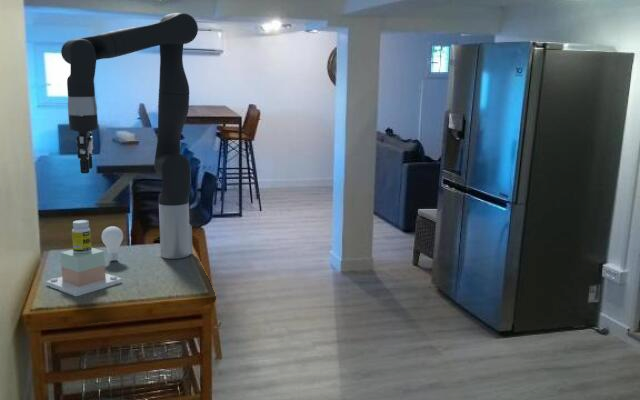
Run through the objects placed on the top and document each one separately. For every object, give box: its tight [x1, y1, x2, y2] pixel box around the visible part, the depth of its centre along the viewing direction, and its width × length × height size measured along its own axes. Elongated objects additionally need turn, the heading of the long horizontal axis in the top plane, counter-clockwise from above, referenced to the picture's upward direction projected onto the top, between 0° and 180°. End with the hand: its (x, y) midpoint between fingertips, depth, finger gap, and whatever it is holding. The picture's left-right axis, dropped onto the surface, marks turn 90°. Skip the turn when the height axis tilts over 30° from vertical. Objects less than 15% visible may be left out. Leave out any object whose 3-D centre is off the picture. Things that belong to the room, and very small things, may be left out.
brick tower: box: [45, 247, 123, 297], centre depth 165 cm, size 14×14×9 cm
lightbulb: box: [101, 225, 124, 262], centre depth 186 cm, size 6×6×11 cm
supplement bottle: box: [71, 219, 93, 254], centre depth 163 cm, size 5×5×8 cm
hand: (86, 170), depth 170 cm, fingers open, 8 cm apart
